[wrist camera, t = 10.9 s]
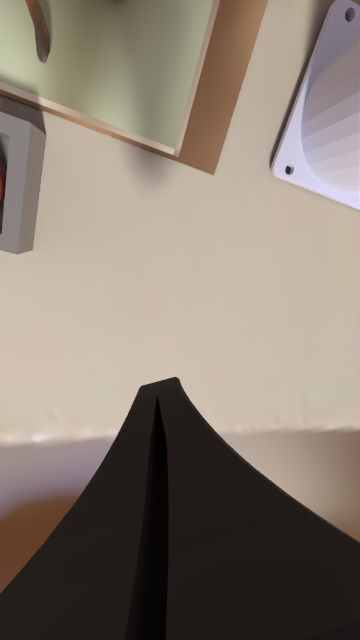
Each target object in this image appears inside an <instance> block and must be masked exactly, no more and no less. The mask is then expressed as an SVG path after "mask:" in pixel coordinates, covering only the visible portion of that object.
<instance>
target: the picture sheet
mask: <svg viewBox="0 0 360 640" xmlns="http://www.w3.org/2000/svg"><path fill="white" fill-rule="evenodd" d="M38 1H39V3H40V6H41V9H42V11H43V14H44V18H45V23H46V26H47V29H48V33H49V38H50V46H51V47H50V53H49V55H48V58H47V62H46V63H42V62H41V61H39V58H38V56H37V51H36V41H35V29H34V25H33V21H32V18H31V16H30V13H29V10H28V7H27V4H26V1H25V0H0V95H3V96H6V97H8V98H11V99H14V100H16V101H19V102H22V103H24V104H27V105H30V106H32V107H35V108H38V109H40V110H43V111H45V112H48V113H51V114H53V115H56V116H59V117H61V118H64V119H67V120H69V121H72V122H75V123H77V124H80V125H83V126H85V127H88V128H90V129H93V130H96V131H98V132H101V133H104V134H106V135H109V136H112V137H114V138H117V139H120V140H122V141H125V142H128V143H130V144H133V145H135V146H138V147H141V148H143V149H146V150H149V151H151V152H154V153H157V154H159V155H162V156H165V157H167V158H170V159H173V160H175V161H178V162H180V163H183V164H186V165H188V166H191V167H194V168H196V169H199V170H202V171H204V172H207V173H210V174H212V175H214V173H215V170H216V166H217V163H218V160H219V157H220V153H221V150H222V147H223V144H224V141H225V137H226V134H227V131H228V128H229V124H230V121H231V118H232V115H233V111H234V108H235V105H236V102H237V98H238V95H239V92H240V89H241V86H242V82H243V79H244V76H245V73H246V69H247V66H248V63H249V60H250V56H251V53H252V50H253V47H254V43H255V40H256V37H257V34H258V31H259V27H260V24H261V21H262V18H263V14H264V11H265V8H266V5H267V1H268V0H122V1H117V0H38Z"/></svg>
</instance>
